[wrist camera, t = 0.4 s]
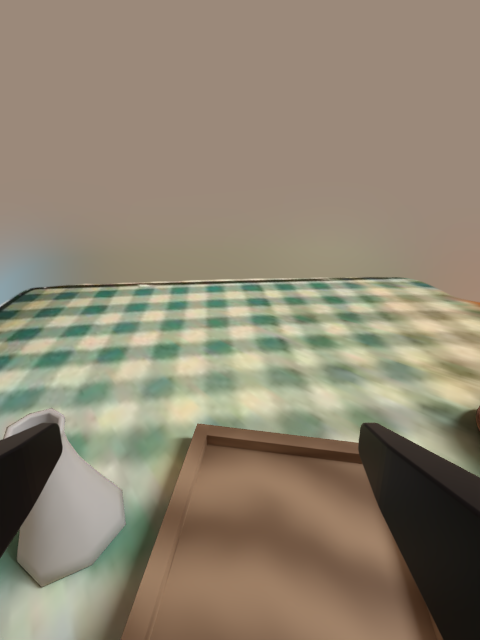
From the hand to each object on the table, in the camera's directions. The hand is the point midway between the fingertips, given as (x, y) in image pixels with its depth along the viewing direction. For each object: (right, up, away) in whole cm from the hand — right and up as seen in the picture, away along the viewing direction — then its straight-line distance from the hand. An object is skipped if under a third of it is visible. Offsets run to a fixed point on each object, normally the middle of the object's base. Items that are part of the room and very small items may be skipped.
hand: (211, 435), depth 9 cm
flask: (-11, -12, +13) cm, 21 cm away
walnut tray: (+4, -13, +11) cm, 18 cm away
